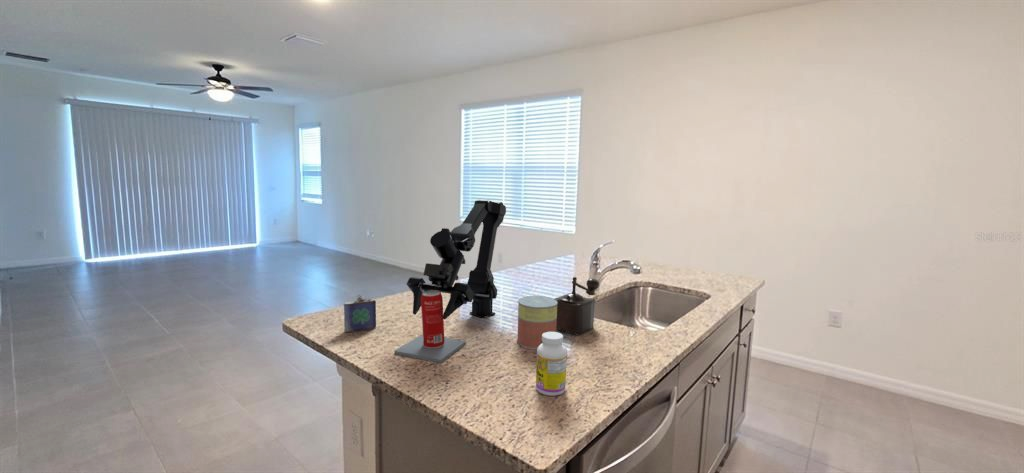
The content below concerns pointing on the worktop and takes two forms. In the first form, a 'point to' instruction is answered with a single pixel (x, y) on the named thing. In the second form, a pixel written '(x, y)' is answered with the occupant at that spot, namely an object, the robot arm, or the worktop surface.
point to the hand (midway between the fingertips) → (428, 316)
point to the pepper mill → (576, 309)
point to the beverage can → (432, 319)
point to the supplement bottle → (551, 364)
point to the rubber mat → (430, 349)
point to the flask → (359, 315)
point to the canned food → (535, 319)
